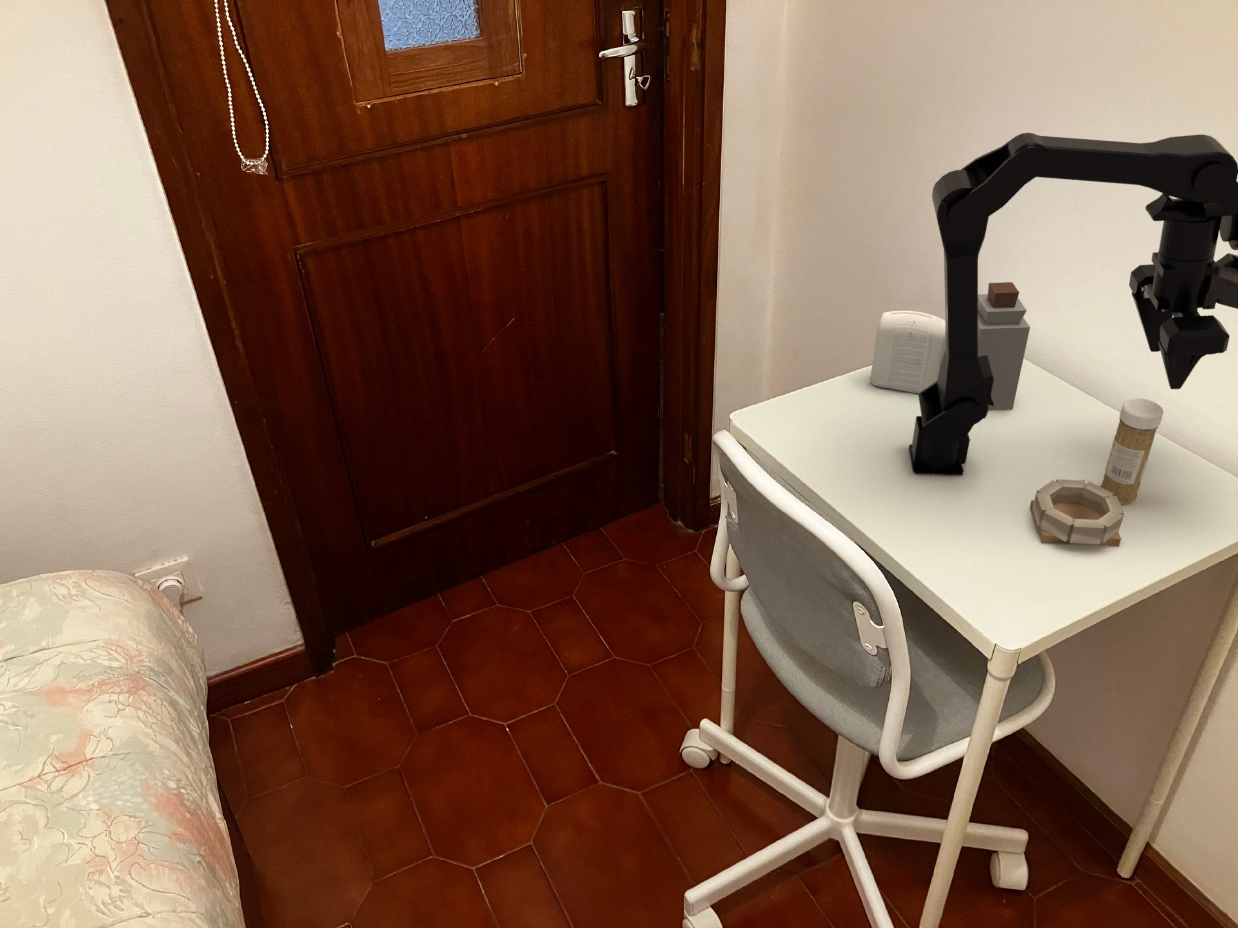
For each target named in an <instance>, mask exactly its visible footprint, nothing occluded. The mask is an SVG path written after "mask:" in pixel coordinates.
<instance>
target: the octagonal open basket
mask: <svg viewBox="0 0 1238 928" xmlns="http://www.w3.org/2000/svg"><path fill="white" fill-rule="evenodd" d="M1034 496H1035V497H1034V499H1033V500H1031V501H1030V504H1029V511H1030V514H1031V516H1032V519H1033V522H1034V525H1035V529H1036V531H1037V535H1038V537H1039V540H1040V542H1041V544H1057V545H1077V546H1079V545H1080V546H1100V547H1103V546H1105V547H1120V544H1121V541H1122V537H1121V535H1120V533H1119V532H1120V530H1121V526H1122V523H1123V519H1124V516H1125V512H1124V511H1125V510H1124V509H1123V506H1122V504H1120V502H1119V500H1118V498H1117V496H1114V494H1113V493H1111V492H1109V491H1107V490H1105V489H1103V488H1101V487H1100V486H1099V485H1097V484H1095V483H1093V482H1091V481H1087V482H1086V480H1079V479H1078V480H1077V479H1056V480H1054V479H1052V480H1051V481H1050V482H1048V483H1046V484H1045V485H1044V486H1042V487H1041V488H1039V489H1037V490H1036V493H1035V495H1034Z"/></svg>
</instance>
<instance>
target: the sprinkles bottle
mask: <svg viewBox="0 0 1238 928" xmlns="http://www.w3.org/2000/svg"><path fill="white" fill-rule="evenodd" d="M1163 415H1164V409H1163V407H1162V406H1161V405H1160V404H1158V403H1157V402H1155V401H1153V400H1151V399H1147V398H1137V397H1136V398H1135V397H1134V398H1129V399H1127V400H1126V401H1124V402H1123V403H1122V406H1121V409H1120V413H1119V418H1118V419H1119V422H1118V425H1117V428H1116V433H1115V436H1114V438H1113V441H1112V445H1111V448H1110V450H1109V451H1110V452H1109V454H1108V458H1107V462H1106V466H1105V470H1104V474H1103V477H1102V481H1101V484H1100V486H1099V487H1101V488H1103V489H1105V490H1107V491H1109V492H1111V493H1113V494H1114V496H1117V498H1118V500H1119V502H1120V504H1121V505H1129V504H1132V503H1134V502H1135V501H1136V500H1137V498H1138V492H1139V488H1140V485H1141V482H1142V480H1143V477H1144V474H1145V471H1146V469H1147V465H1148V461H1149V456H1150V452H1151V450H1152V446H1153V443H1154V439H1155V436H1156V432H1157V429H1158V428H1159V426H1160V425H1161V422H1162V419H1163Z"/></svg>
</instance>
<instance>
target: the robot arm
mask: <svg viewBox="0 0 1238 928" xmlns="http://www.w3.org/2000/svg"><path fill="white" fill-rule="evenodd" d="M1035 178H1041V179H1043V178H1045V179H1055V180H1056V179H1059V180H1069V181H1071V180H1072V181H1080V182H1081V181H1082V182H1093V183H1094V182H1096V183H1105V184H1106V183H1108V184H1120V185H1121V184H1122V185H1132V186H1133V185H1134V186H1140V187H1144V188H1148V189H1151V190H1153V191H1156V192H1159V193H1161V195H1160V196H1159V197H1158V198H1156V199H1154V200H1152V201H1150V202H1149V203H1148V204H1146V205H1145V211H1146V212H1147V214H1148V215H1149V216H1150V218H1151V219H1152V221H1153V222H1163V223H1162V229H1161V236H1160V240H1159V247H1158V252H1157V251H1156V252H1154V251H1153V252H1152V255H1151V262H1152V263H1151V264H1139V265H1138V266H1137V267H1135V268H1134V269H1133V270H1131V272H1130V276H1129V277H1130V278H1129V281H1128V282H1129V283H1128V286H1129V288H1130V290H1131V297H1132V298H1133V302H1134V304H1135V308H1136V311H1137V313H1138V314H1137V315H1138V317H1139V319H1140V323H1141V326H1142V329H1143V332H1144V336H1145V338H1146V341H1147V344H1148V348H1149V350H1150V352H1152V353H1157V352H1160V355H1161V359H1162V362H1163V363H1162V364H1163V367H1164V371H1165V374H1166V378H1167V381H1168V385H1169V388H1170V389H1171V390H1180V389H1182V387H1183V386H1184V384H1185V383H1186V381H1187V379H1188V378H1189V376H1190V375H1191V373H1192V372H1193V370H1194V369H1195V367H1196V365H1197V364H1198V362H1199V361H1201V359H1202V358H1203V357H1205V356H1207V355H1210V356H1211V355H1216V354H1223V353H1226V351H1227V350H1228V346H1229V342H1230V334H1229V333H1228V331H1227V330H1226V328H1225V326H1224V325H1223V324H1222V322H1221V321H1220V320H1219V319H1218V318H1217V317H1216V316H1214V315H1210V314H1209V315H1201V314H1200V313H1199V311H1198V309H1202V310H1215V308H1216V304H1219V305H1221V306H1225V307H1228V308H1232V309H1236V310H1238V254H1233V253H1230V252H1228V253H1226V254H1225V255H1224V256H1222V257H1221V258H1219V259H1218V260H1215V255H1216V249H1217V245H1218V240H1219V236H1220V239H1221V241H1222V242H1223V243H1226V242H1227V243H1228V244H1229V247H1230V248H1231V250H1233V251H1238V180H1237V179H1238V163H1237V160H1236V159H1235V158H1234V156H1233V155H1232V154H1231V153H1230V152H1229V150H1227V148H1225V147H1224V146H1223V145H1222V144H1221V142H1219V141H1218V140H1217V139H1216V138H1215V137H1213V136H1211V135H1207V134H1193V135H1192V134H1191V135H1179V136H1169V137H1167V138H1163V139H1159V140H1155V141H1153V142H1152V141H1151V142H1130V141H1129V142H1128V141H1117V140H1116V141H1115V140H1102V139H1089V138H1073V137H1065V136H1063V137H1060V136H1050V135H1049V136H1047V135H1039V134H1036V133H1033V132H1023V133H1019V134H1018V135H1016V136H1014V137H1013V138H1011V139H1010V140H1009V141H1006V143H1004V144H1003V145H1002V146H1000V147H997V148H996V149H995V148H994V149H993V150H991V151H989V152H986V153H985V154H982V155H981V156H978V157H976V158H975V159H973V160H972V161H971V162H969V163H967V164H966V165H964V166H963V167H962V168H960V169H955V170H952V171H948V172H947V173H946V174H944V175H942V176H941V177H940V178H939V179H938V180H937V181H936V182H935V183H934V184H933V185H934V186H933V188H932V193H931V197H932V198H931V199H932V203H933V208H934V211H935V212H934V213H935V217H936V220H937V226H938V230H939V234H940V237H941V243H942V244H941V245H942V248H943V263H944V264H943V266H944V268H943V269H944V272H943V273H944V276H943V277H944V315H945V316H944V317H945V319H944V320H945V327H946V350H945V353H944V356H943V359H942V362H941V365H940V371H939V376H938V381H936V382H935V383H933V384H932V385H930V386H929V387H927V388H926V389H925V390H923V391H922V392H920V393H917V395H918V401H919V409H920V415H917V416H915V423H914V428H913V429H914V430H913V435H912V442H911V444H909V445H908V453H909V457H910V464H911V467H912V472H913V474H915V475H934V476H935V475H937V476H939V475H940V476H963V474H964V468H963V467H964V466H963V465H965V464H966V463H967V457H968V452H969V447H970V441H971V438H970V435H969V433H970V432H971V430H972V429H973V428H974V425H976V424H978V423H981V421H982V420H984V419H986V417H987V415H988V413H989V411H988V408H989V407H988V405H991V406H994V401H993V397H992V394H991V391H992V387H993V380H994V377H993V373H992V369H991V366H990V362H989V358H988V355H984V356H980V357H978V294H979V255H980V251H981V249H982V246H983V244H984V241H985V238H986V233H987V228H988V224H989V223H988V222H989V218H990V217H991V216H993V214H995V213H997V211H999V210H1001V209H1003V207H1005V206H1006V205H1007V204H1008V203H1009V202H1010V200H1012V198H1014V197H1015V196H1016V194H1017V193H1018V192H1019V191H1021V190H1022V188H1023V187H1024V186H1025V185H1026V184H1028V183H1030V182H1031V181H1033V180H1034V179H1035Z"/></svg>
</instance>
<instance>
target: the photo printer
mask: <svg viewBox="0 0 1238 928" xmlns="http://www.w3.org/2000/svg"><path fill="white" fill-rule="evenodd" d="M875 335H876V336H875V342H874V351H873V359H872V364H871V371H870V372H871V373H870V383H871V385H873V386H876V387H878V388H879V387H880V388H885V389H890V390H891V389H892V390H897V391H903V392H909V393H915V394H919V393H920V392H922V391H923V390H925V389H926V388H927V387H929V386H930V385H932V384H933V383H935V382H936V381H938V376H939V371H940V365H941V362H942V359H943V356H944V353H945V350H946V327H945V319H943V318H941V317H938V316H935V315H932V314H930V313H927V312H922V311H921V312H920V311H915V310H892V311H885V312H882V316H881V318H880V320H879V321H878V324H877V328H876V334H875Z"/></svg>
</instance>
